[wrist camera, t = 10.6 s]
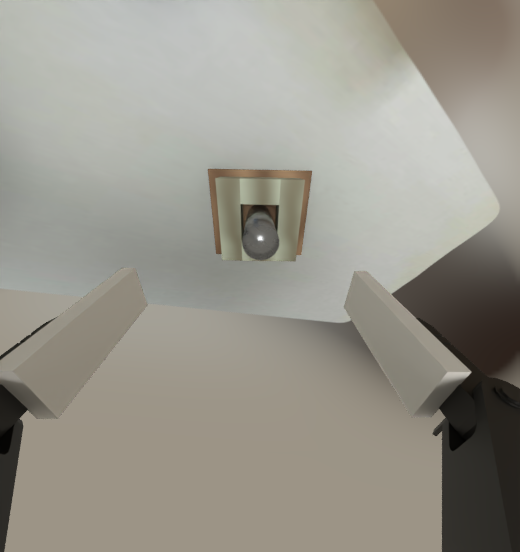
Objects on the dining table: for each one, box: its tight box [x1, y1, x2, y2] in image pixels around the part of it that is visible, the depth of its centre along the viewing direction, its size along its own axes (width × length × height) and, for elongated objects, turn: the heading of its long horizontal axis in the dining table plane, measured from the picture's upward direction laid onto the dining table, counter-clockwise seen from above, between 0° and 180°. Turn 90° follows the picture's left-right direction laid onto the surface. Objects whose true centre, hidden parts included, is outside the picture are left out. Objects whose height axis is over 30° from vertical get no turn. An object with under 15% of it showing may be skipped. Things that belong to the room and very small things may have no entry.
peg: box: [242, 205, 279, 260], centre depth 27 cm, size 4×4×14 cm
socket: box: [208, 169, 312, 261], centre depth 32 cm, size 16×14×6 cm
